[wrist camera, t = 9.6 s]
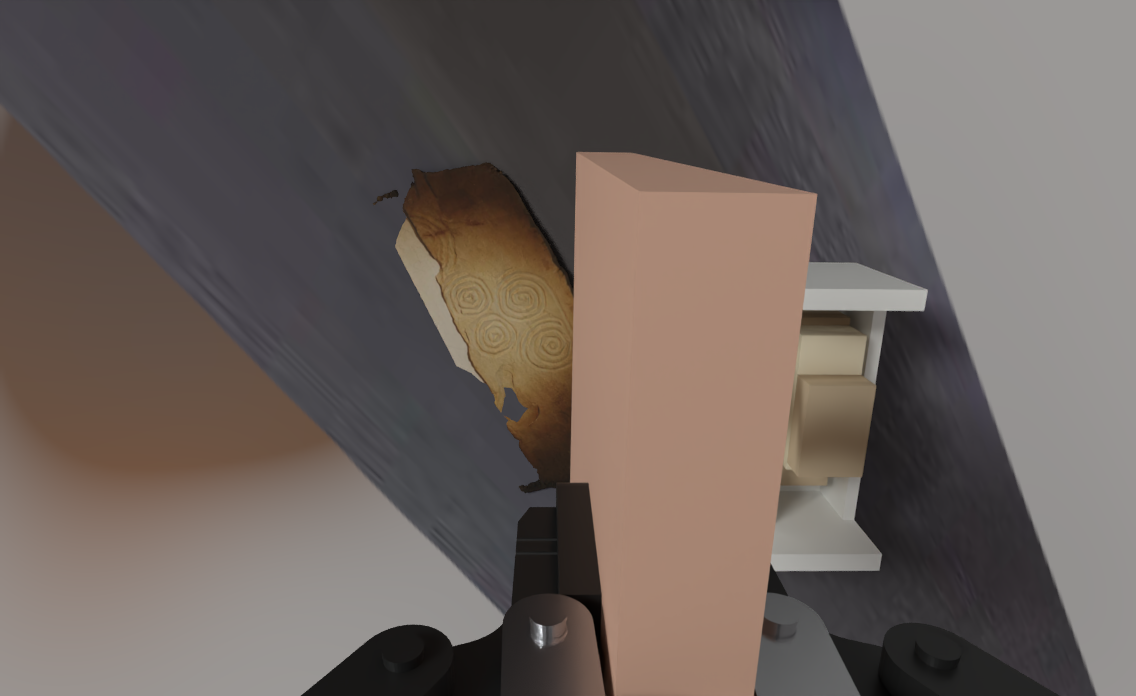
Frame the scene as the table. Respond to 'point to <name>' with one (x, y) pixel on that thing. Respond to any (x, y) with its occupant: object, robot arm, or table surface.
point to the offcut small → (830, 425)
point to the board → (683, 410)
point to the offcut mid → (826, 357)
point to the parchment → (496, 301)
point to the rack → (826, 513)
